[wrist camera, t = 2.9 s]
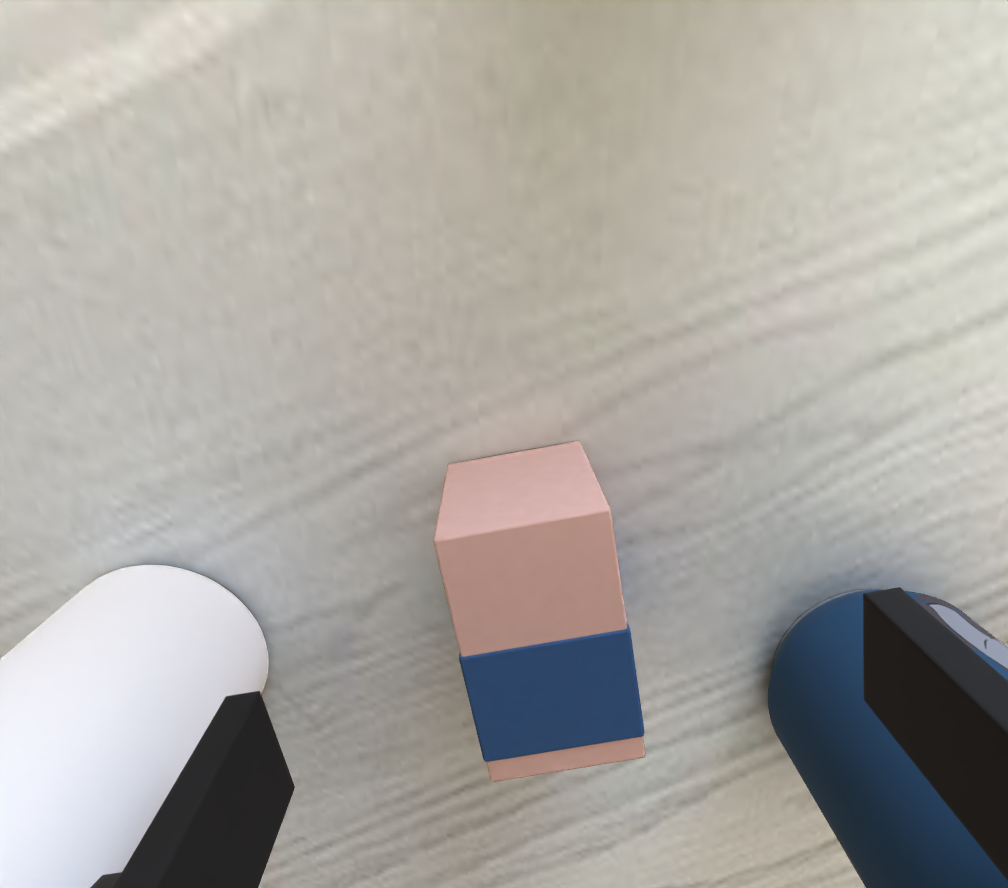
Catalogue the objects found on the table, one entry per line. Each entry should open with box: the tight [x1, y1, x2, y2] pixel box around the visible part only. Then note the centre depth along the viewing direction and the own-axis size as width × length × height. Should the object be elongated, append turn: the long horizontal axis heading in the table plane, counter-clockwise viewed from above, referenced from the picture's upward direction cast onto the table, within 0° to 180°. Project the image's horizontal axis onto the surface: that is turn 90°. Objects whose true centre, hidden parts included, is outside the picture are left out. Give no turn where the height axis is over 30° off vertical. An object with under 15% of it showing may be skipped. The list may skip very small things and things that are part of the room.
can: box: [0, 565, 269, 888], centre depth 15 cm, size 6×6×12 cm
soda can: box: [768, 589, 1008, 888], centre depth 16 cm, size 7×7×12 cm
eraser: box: [433, 441, 645, 782], centre depth 17 cm, size 4×7×5 cm, turn 10°
